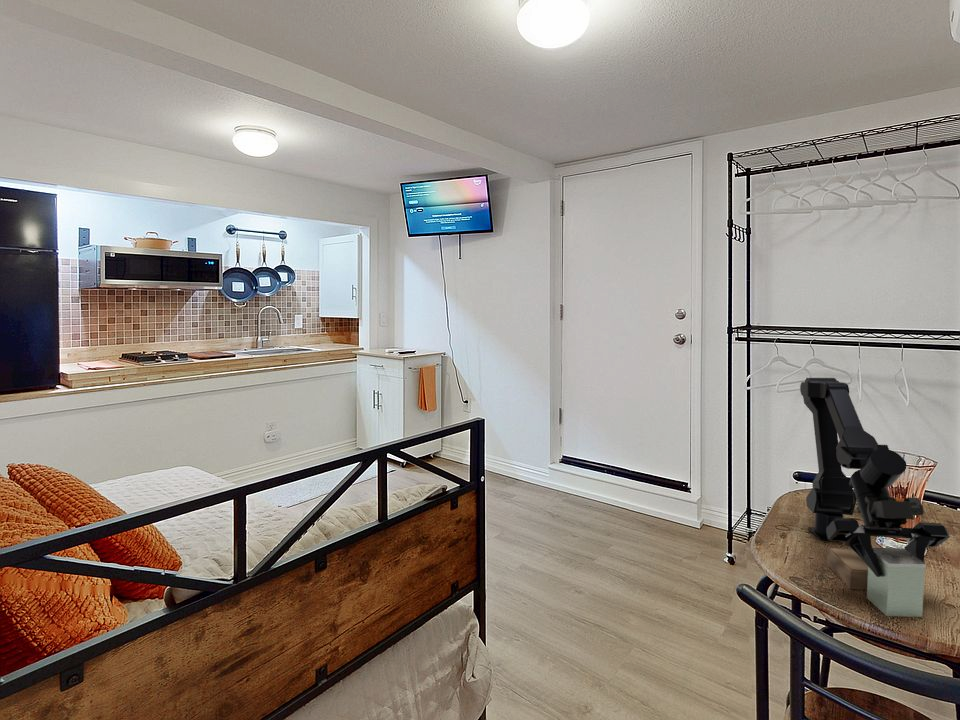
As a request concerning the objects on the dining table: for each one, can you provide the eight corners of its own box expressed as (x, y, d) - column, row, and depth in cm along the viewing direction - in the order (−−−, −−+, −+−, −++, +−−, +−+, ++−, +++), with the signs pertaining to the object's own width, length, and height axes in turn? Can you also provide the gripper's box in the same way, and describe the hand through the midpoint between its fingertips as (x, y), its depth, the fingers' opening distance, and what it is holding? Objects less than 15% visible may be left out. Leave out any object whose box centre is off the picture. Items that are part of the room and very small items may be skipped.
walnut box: (826, 565, 117) (827, 547, 116) (877, 568, 115) (877, 549, 115) (849, 590, 107) (850, 570, 107) (905, 593, 105) (906, 572, 105)
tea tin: (865, 597, 104) (868, 547, 103) (900, 598, 103) (903, 548, 102) (886, 616, 98) (889, 563, 96) (923, 617, 97) (926, 564, 96)
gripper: (834, 478, 104) (857, 559, 94) (946, 482, 99) (983, 567, 90) (817, 502, 112) (837, 578, 103) (920, 507, 108) (951, 587, 98)
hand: (899, 577), depth 98 cm, fingers closed on tea tin, 6 cm apart
